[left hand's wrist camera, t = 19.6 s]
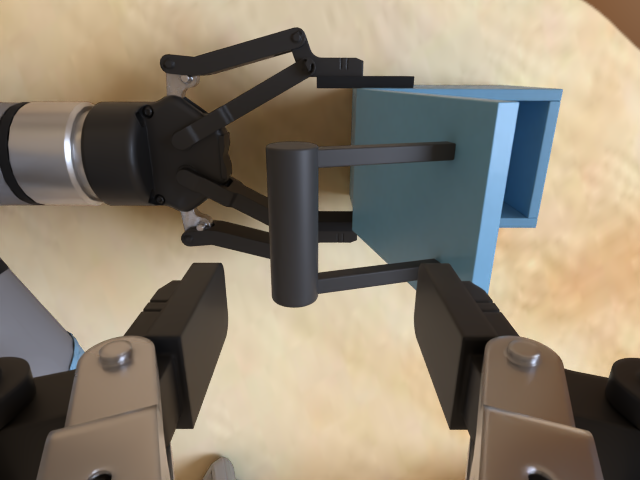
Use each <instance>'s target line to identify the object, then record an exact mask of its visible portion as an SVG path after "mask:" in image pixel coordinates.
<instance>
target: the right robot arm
mask: <svg viewBox="0 0 640 480" xmlns="http://www.w3.org/2000/svg"><path fill="white" fill-rule="evenodd" d="M289 52H292V53H293V56H294V59H295V61H296V63H294V64H293V65H291V66H289V67H287V68H286V69H284V70H282V71H281V72H279V73H277V74H276V75H274V76H272V77H271V78H269V79H267V80H266V81H264V82H262V83H260V84H259V85H257V86H255V87H254V88H252V89H250V90H249V91H247V92H245V93H244V94H242V95H240V96H239V97H237V98H235V99H233V100H232V101H230V102H228V103H227V104H225V105H223V106H221V107H219V108H218V109H216V110H214V111H213V112H211V113H208V112H206V111H205V110H203V109H202V108H200V107H199V106H198V105H196V104H195V103H193V102H192V101H191V100H189V99H188V98H186V97H185V92H186V90H187V89H189V88H191V87H195V86H197V85H198V84H199V81H200V76H204V75H212V74H216V73H220V72H223V71H227V70H230V69H234V68H237V67H241V66H244V65H248V64H251V63H255V62H258V61H261V60H265V59H268V58H272V57H275V56H279V55H282V54H286V53H289ZM160 66H161V68H162V70H163V71H164V72H166V79H167V96H165V97H164V98H162V99H161V100H159V101H156V102H99V103H97V104H96V105H94V104H92V103H90V102H22V103H3V102H0V205H83V206H99V205H101V204H104V203H106V204H108V205H113V206H158V205H164V206H169V207H172V208H174V209H176V210H178V211H181V215H182V220H183V224H184V229H185V232H184V233H183V234H182V236H181V240H182V243H183V244H184V245H186V246H201V245H215V246H220V247H224V248H228V249H232V250H236V251H240V252H244V253H248V254H252V255H257V256H261V257H265V258H269V259H270V237H269V232H266V231H261V230H257V229H253V228H249V227H245V226H241V225H237V224H233V223H229V222H225V221H217V220H212V218H211V217H210V216H209V215H207V214H202V213H200V212H199V211H198V210H197V207H198V206H199V205H200V204H202V203H203V202H204V201H206V200H207V199H208V198H210V199H212V200H214V201H216V202H218V203H220V204H222V205H224V206H227V207H233V208H235V209H237V210H239V211H241V212H243V213H245V214H247V215H249V216H251V217H253V218H255V219H257V220H259V221H261V222H263V223H265V224H266V225H268V226H269V213H268V198H267V197H265V196H263V195H261V194H260V193H258V192H256V191H254V190H252V189H250V188H248V187H246V186H244V185H243V184H242V183H241V182H240V181H238V180H236V179H235V178H233V177H231V176H230V175H231V174H232V164H231V160H230V157H229V154H228V150H229V145H230V136H229V132H227V130H226V128H225V126H226V125H228V124H229V123H231V122H233V121H235V120H236V119H238V118H240V117H241V116H243V115H245V114H247V113H248V112H250V111H252V110H253V109H255V108H257V107H259V106H260V105H262V104H264V103H265V102H267V101H269V100H271V99H272V98H274V97H276V96H277V95H279V94H281V93H283V92H284V91H286V90H288V89H289V88H291V87H293V86H295V85H296V84H298V83H300V82H301V81H303V80H305V79H307V78H308V77H317V88H413V86H414V76H363V61H362V60H360V59H357V58H319V57H317V56H315V55H314V54H313V53H312V52H311V50H310V47H309V44H308V41H307V38H306V35H305V33H304V31H303V30H302V29H300V28H298V27H297V28H291V29H288V30H285V31H281V32H278V33H274V34H271V35H267V36H264V37H261V38H257V39H254V40H250V41H247V42H244V43H240V44H237V45H233V46H230V47H226V48H223V49H220V50H216V51H213V52H209V53H206V54H203V55H199V56H196V57H190V56H180V55H170V54H168V55H164V56H163V57H162V58H161V60H160ZM352 219H353V211H318V243H320V242H348V243H350V242H353V241H356V240H357V234H356V233H355V232H354V231H353V230H352ZM84 353H85V352H84V351H83V349H82V348H81V347H80V345H79V344H78V342H77V340H76V338H75V337H74V336H73V334H71V333H69V332H68V331H66V330H65V329H64V328H63V327H62V326H61V325H60V324H59V322H58V321H57V320H56V319H55V318H54V317H53V316H52V315H51V314H50V313H49V312H48V310H47V309H46V308H45V307H44V306H43V305H42V304H41V303H40V302H39V301H38V300H37V298H36V297H35V296H34V295H33V294H32V293H31V292H30V291H29V290H28V289H27V288H26V286H25V285H24V284H23V283H22V282H21V281H20V280H19V279H18V278H17V277H16V276H15V274H14V273H13V272H12V271H11V270H10V269H9V268H8V266H7V265H6V264H5V263H4V261H3V260H2V259H1V258H0V357H19V358H22V359H24V360H26V361H27V362H28V363H29V365H30V368H31V372H32V375H33V378H34V377H39V376H44V375H49V374H54V373H59V372H64V371H69V370H73V369H76V366H77V362H78V360H79V358H80V357H81V356H82V355H83V354H84Z"/></svg>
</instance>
